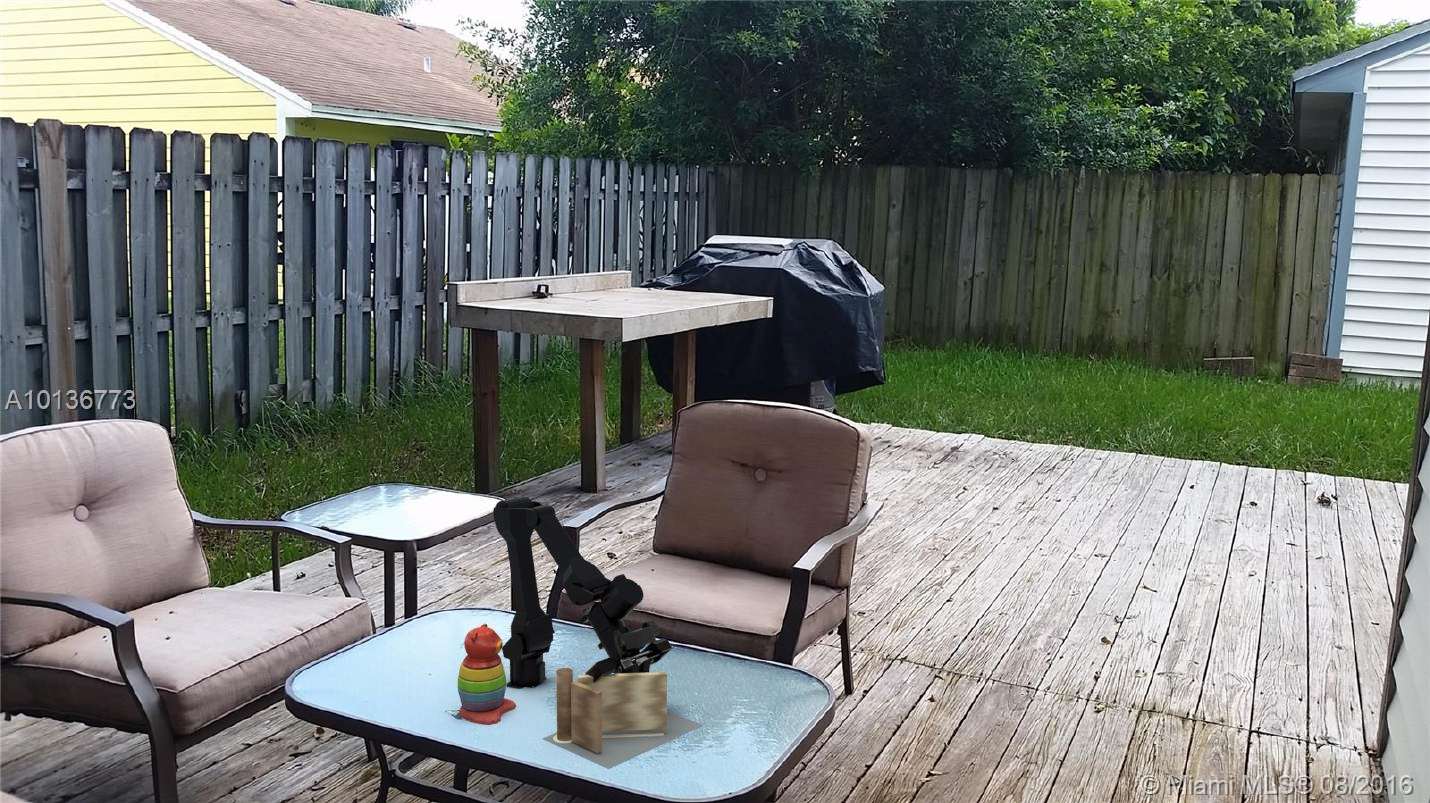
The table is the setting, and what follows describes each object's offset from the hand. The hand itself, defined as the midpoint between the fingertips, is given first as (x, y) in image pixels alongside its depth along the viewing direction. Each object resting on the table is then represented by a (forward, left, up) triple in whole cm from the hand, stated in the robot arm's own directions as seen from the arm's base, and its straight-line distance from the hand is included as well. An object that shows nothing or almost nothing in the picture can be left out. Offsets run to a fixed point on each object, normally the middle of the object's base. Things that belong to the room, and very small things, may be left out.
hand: (650, 701), depth 220 cm
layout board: (-5, -2, -7) cm, 8 cm away
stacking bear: (-34, -1, -7) cm, 35 cm away
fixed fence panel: (-11, -9, -6) cm, 15 cm away
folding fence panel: (-4, -3, -5) cm, 7 cm away
